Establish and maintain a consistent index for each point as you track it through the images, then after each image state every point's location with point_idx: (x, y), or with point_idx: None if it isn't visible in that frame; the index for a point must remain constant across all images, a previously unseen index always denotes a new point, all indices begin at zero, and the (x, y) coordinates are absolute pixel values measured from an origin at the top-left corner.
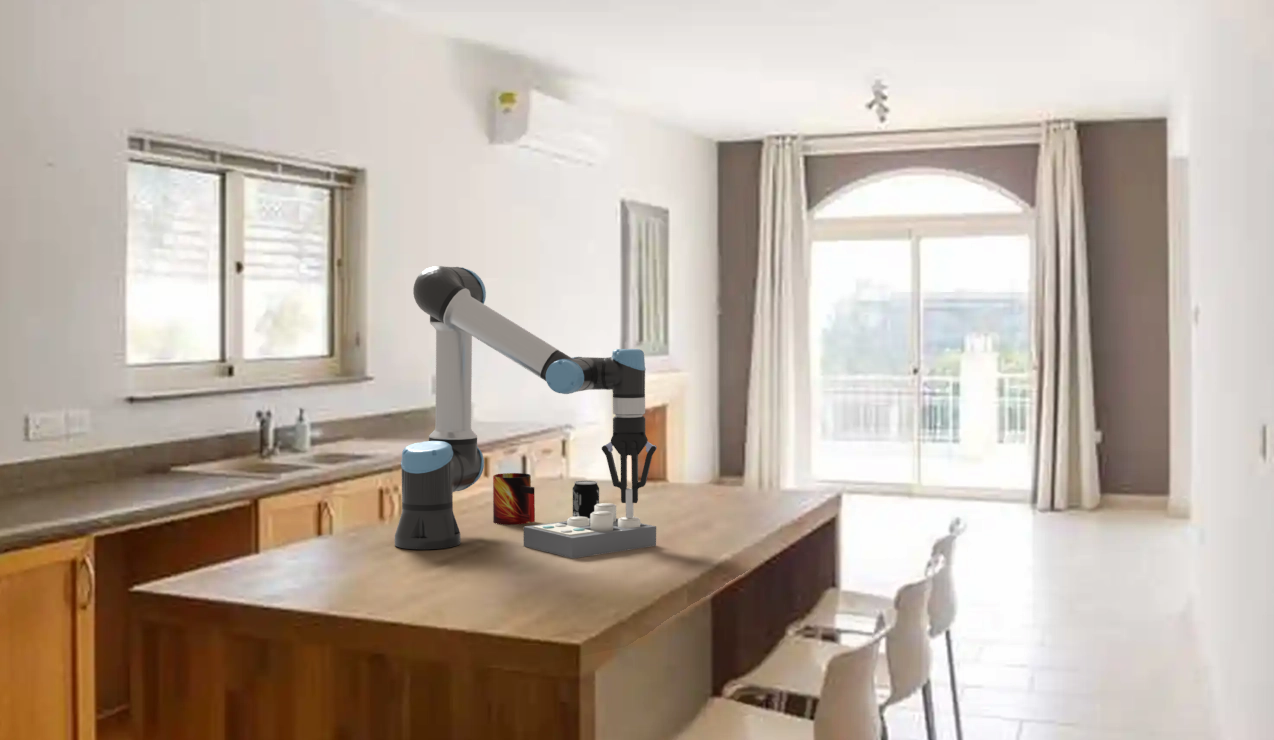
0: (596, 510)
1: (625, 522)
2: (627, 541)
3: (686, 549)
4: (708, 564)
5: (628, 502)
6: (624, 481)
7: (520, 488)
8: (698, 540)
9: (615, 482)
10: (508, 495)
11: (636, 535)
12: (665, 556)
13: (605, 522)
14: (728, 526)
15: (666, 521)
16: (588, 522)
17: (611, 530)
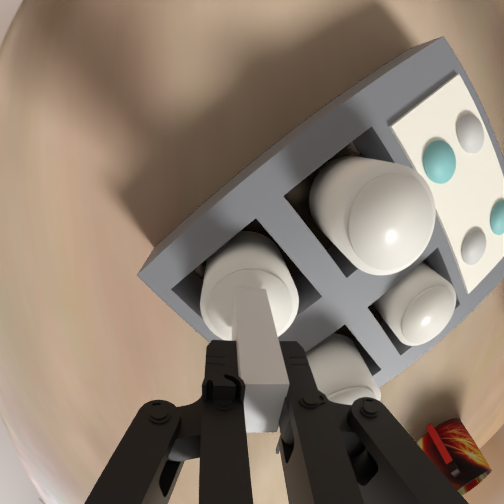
0: (373, 378)
1: (265, 260)
2: (250, 168)
3: (62, 193)
4: (32, 3)
5: (260, 332)
6: (309, 434)
7: (459, 470)
8: (61, 325)
9: (373, 418)
10: (470, 452)
11: (214, 200)
12: (119, 68)
13: (363, 162)
14: (65, 438)
15: (182, 479)
16: (398, 301)
17: (323, 178)
